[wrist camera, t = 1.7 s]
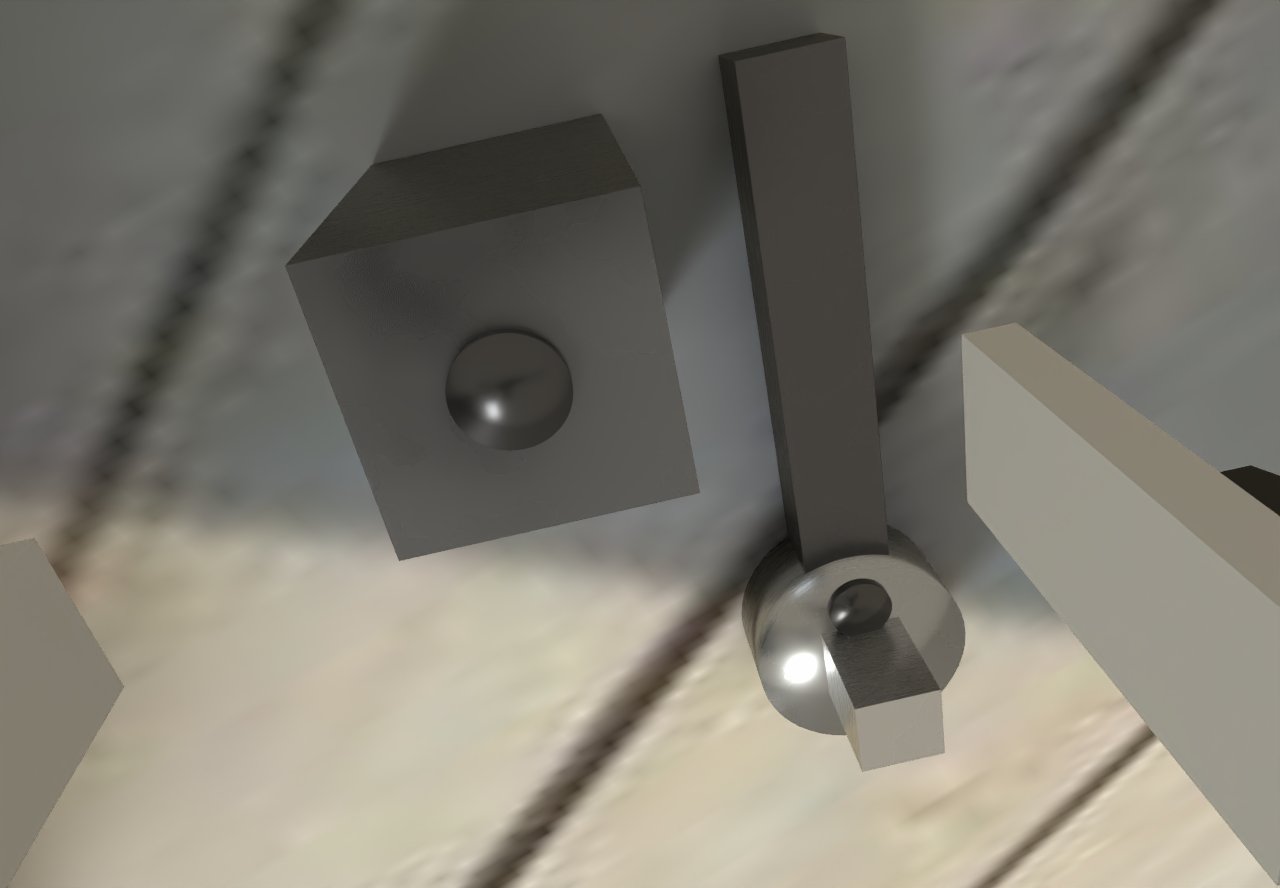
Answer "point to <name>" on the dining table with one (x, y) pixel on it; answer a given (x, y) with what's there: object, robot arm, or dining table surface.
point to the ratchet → (828, 428)
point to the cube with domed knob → (499, 337)
